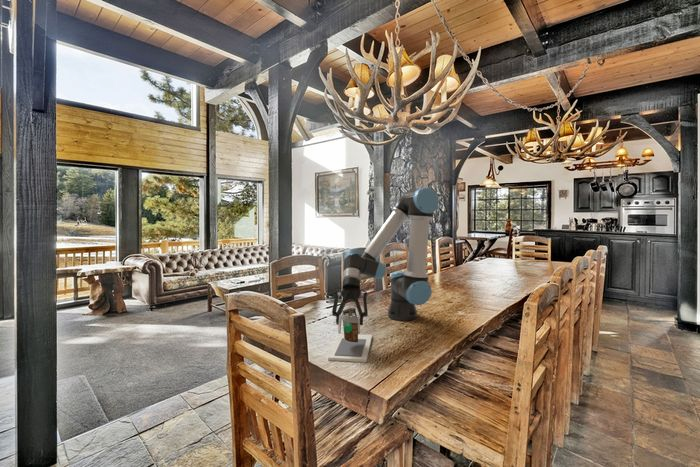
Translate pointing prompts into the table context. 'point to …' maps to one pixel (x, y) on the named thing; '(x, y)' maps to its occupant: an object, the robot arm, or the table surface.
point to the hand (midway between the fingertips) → (349, 332)
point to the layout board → (351, 349)
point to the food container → (350, 325)
